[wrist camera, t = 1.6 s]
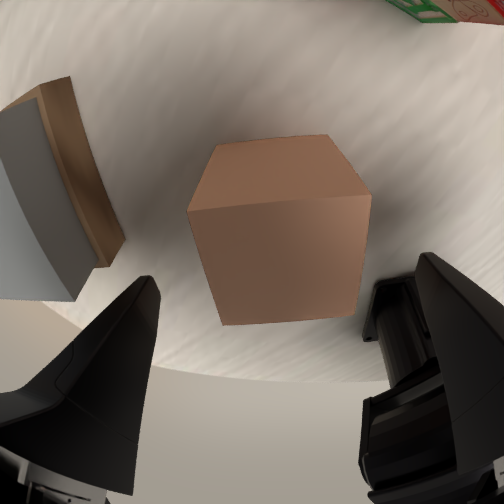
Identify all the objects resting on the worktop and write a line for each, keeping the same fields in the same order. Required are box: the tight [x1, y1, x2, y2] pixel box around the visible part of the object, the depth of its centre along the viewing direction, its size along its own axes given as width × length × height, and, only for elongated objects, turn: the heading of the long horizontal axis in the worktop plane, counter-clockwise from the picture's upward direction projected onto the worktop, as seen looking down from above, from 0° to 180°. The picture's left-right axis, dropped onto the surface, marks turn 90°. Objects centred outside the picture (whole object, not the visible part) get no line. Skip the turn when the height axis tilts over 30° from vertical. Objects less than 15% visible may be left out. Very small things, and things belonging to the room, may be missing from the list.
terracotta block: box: [186, 135, 372, 326], centre depth 11 cm, size 5×5×6 cm
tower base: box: [0, 76, 125, 268], centre depth 12 cm, size 10×10×3 cm
